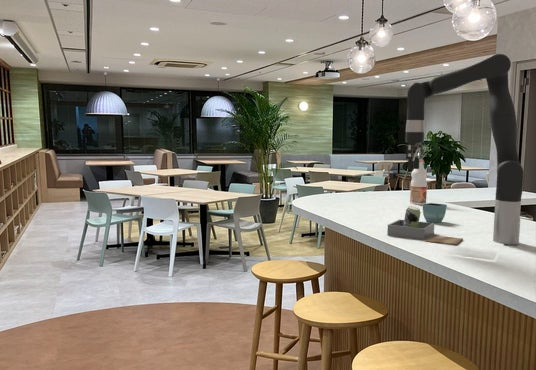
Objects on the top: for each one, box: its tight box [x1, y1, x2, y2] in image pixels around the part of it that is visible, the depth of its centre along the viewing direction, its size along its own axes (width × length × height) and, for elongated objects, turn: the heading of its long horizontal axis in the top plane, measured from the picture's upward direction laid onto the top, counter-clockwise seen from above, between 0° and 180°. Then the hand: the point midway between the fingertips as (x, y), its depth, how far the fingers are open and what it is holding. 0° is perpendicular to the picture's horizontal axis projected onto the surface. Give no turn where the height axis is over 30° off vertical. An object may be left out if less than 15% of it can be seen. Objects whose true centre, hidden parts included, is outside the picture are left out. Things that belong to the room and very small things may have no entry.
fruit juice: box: [409, 159, 428, 206], centre depth 288 cm, size 9×9×28 cm
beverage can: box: [403, 205, 422, 228], centre depth 206 cm, size 6×7×12 cm
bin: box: [386, 219, 435, 241], centre depth 206 cm, size 16×16×4 cm
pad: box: [424, 234, 464, 246], centre depth 194 cm, size 12×12×1 cm
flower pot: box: [421, 202, 448, 224], centre depth 234 cm, size 9×9×9 cm
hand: (413, 169), depth 203 cm, fingers open, 8 cm apart
